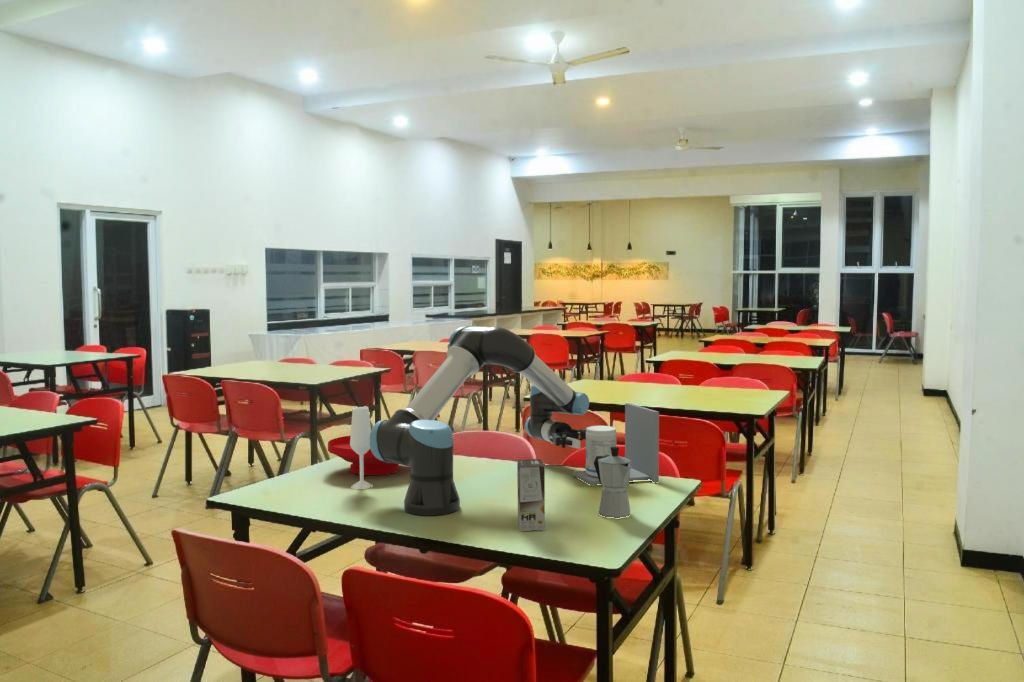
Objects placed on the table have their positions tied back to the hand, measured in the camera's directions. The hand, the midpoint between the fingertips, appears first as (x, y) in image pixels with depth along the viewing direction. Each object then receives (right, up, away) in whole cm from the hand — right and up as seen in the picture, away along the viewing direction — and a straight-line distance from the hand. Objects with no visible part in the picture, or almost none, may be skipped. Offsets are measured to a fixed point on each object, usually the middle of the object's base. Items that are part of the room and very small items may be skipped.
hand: (596, 442), depth 245 cm
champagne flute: (-72, -12, -9) cm, 74 cm away
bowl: (-72, -11, +13) cm, 74 cm away
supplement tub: (+1, -10, -2) cm, 10 cm away
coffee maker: (0, -14, -39) cm, 42 cm away
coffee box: (-22, -15, -50) cm, 57 cm away
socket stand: (+5, -11, 0) cm, 12 cm away
